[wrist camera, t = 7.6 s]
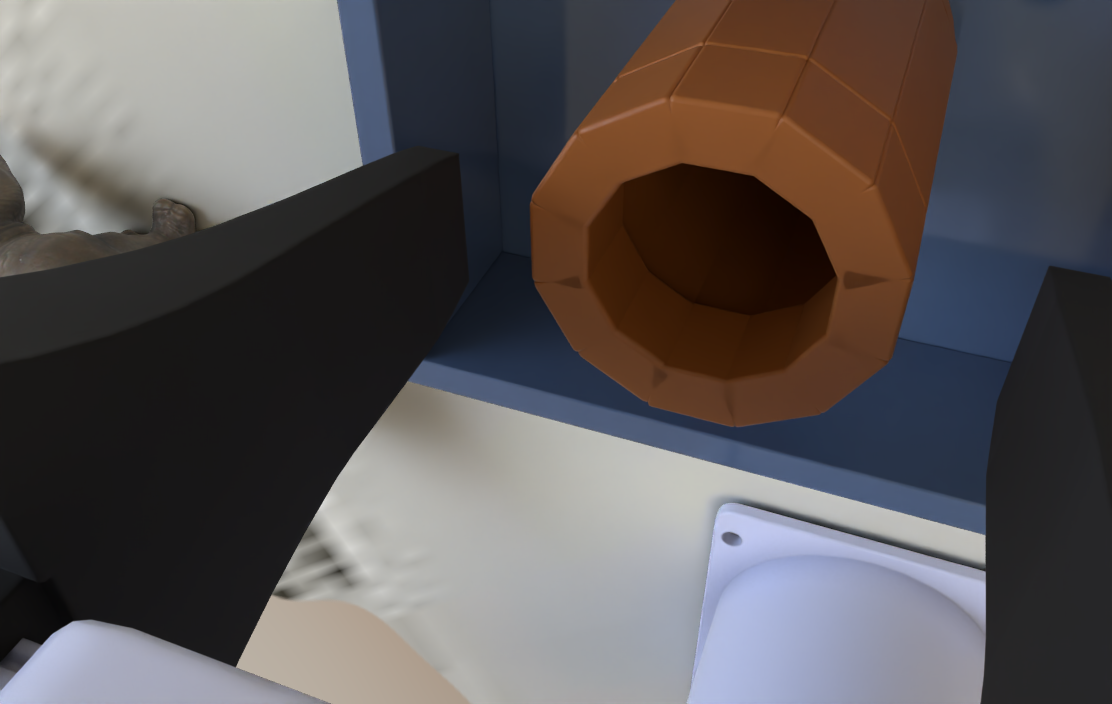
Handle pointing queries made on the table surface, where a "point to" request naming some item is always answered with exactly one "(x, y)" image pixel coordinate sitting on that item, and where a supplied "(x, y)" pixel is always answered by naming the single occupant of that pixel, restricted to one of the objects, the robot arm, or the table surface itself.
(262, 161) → the table surface
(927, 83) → the jar
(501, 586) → the table surface
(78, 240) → the rhino figurine
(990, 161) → the blue open tray
